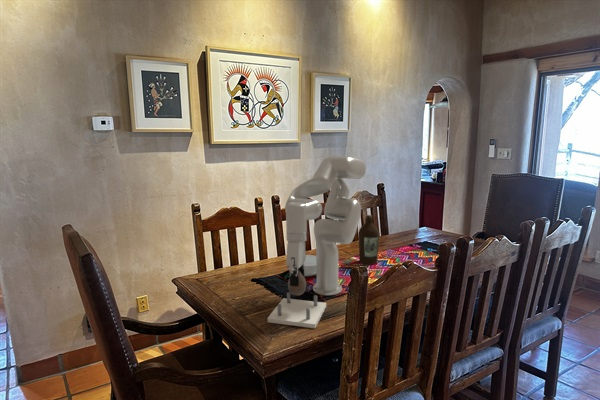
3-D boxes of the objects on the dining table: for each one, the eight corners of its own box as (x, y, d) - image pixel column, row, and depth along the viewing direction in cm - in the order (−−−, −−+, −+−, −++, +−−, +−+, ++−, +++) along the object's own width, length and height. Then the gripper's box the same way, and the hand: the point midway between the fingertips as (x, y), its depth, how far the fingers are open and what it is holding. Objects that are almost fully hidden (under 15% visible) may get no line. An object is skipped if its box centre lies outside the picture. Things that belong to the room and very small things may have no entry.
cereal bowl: (321, 281, 182) (321, 266, 181) (286, 279, 186) (285, 264, 184) (326, 268, 199) (326, 255, 197) (293, 266, 202) (293, 253, 201)
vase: (305, 289, 152) (305, 267, 151) (306, 297, 145) (306, 274, 144) (288, 290, 152) (287, 268, 150) (288, 297, 145) (287, 274, 144)
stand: (283, 301, 161) (282, 288, 160) (326, 306, 156) (326, 293, 155) (267, 322, 144) (267, 308, 143) (315, 328, 139) (315, 313, 138)
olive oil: (355, 259, 212) (356, 213, 207) (374, 258, 213) (375, 212, 209) (361, 265, 201) (362, 218, 197) (381, 264, 203) (382, 217, 198)
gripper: (293, 229, 154) (294, 273, 157) (279, 241, 138) (280, 289, 141) (312, 230, 152) (312, 274, 155) (299, 243, 135) (300, 292, 138)
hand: (297, 281), depth 148 cm, fingers closed on vase, 6 cm apart
